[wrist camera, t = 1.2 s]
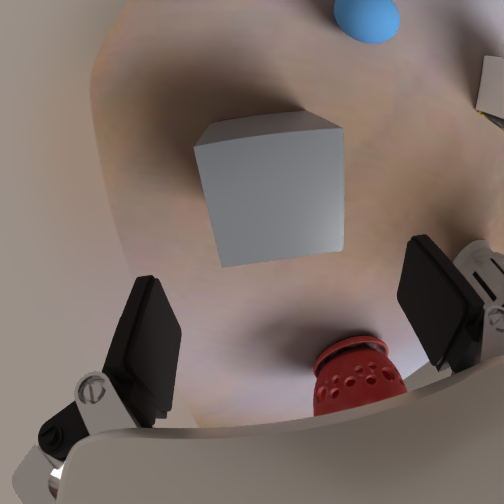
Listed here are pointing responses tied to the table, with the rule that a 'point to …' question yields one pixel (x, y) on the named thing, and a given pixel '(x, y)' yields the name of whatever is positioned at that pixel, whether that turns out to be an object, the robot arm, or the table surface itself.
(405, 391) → the plant pot
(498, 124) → the medicine bottle
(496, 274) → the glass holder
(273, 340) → the table surface
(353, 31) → the ball
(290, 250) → the gray cube
